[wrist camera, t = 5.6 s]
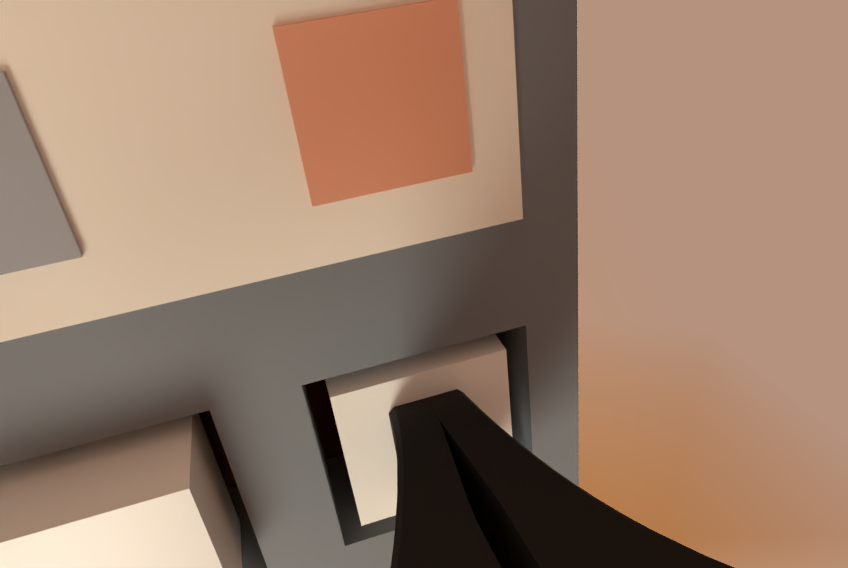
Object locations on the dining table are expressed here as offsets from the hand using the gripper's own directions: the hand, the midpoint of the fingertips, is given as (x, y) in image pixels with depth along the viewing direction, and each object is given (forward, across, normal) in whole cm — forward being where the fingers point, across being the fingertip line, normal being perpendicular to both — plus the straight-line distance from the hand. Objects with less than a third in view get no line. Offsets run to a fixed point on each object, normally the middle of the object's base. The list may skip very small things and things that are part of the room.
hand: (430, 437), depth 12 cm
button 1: (+2, 0, 0) cm, 2 cm away
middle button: (+1, +6, 0) cm, 6 cm away
